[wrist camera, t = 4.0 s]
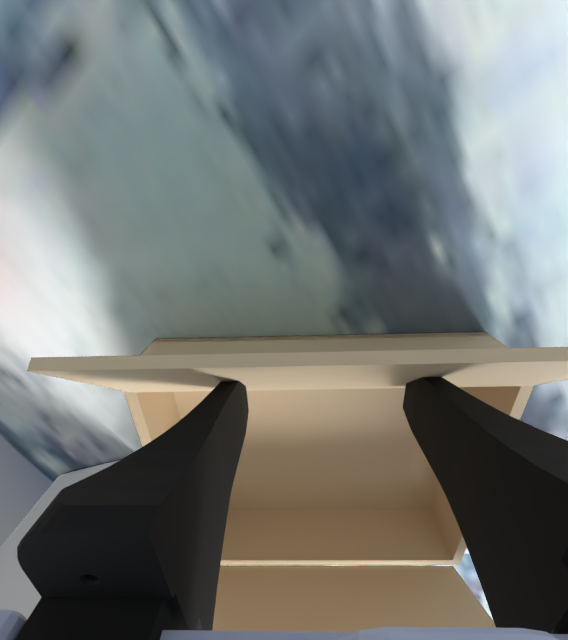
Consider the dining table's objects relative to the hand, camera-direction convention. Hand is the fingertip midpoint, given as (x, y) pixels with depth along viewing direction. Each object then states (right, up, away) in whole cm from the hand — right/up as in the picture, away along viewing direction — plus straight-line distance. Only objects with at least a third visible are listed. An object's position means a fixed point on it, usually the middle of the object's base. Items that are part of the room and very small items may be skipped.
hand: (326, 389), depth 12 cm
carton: (+1, -6, +9) cm, 10 cm away
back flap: (+1, -14, +5) cm, 15 cm away
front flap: (0, +1, -1) cm, 1 cm away
